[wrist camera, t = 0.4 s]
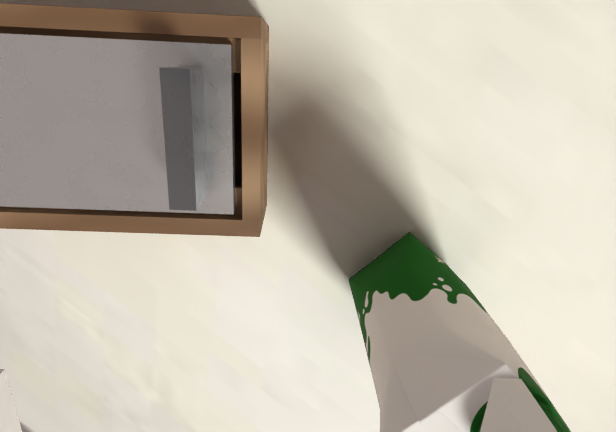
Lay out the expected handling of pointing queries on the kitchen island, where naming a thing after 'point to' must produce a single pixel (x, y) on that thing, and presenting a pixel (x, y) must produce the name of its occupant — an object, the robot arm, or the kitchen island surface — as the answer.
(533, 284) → the kitchen island surface
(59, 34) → the box
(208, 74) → the cover plate
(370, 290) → the milk carton
